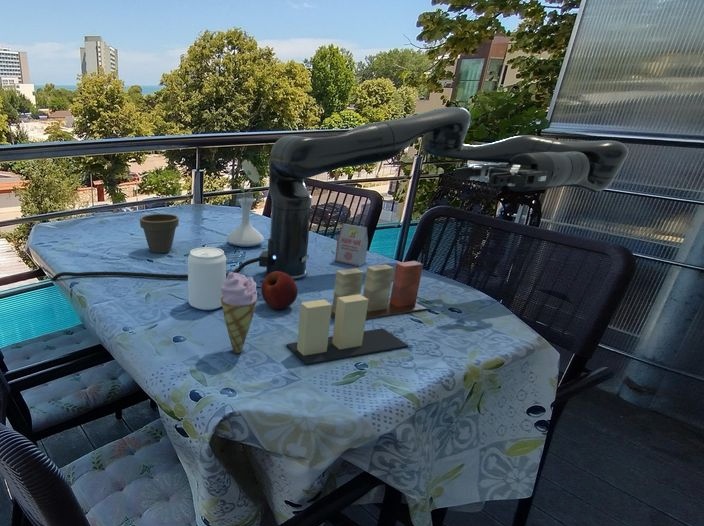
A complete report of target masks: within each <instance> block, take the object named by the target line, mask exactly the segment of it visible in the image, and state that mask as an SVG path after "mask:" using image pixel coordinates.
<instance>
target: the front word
mask: <svg viewBox="0 0 704 526" xmlns="http://www.w3.org/2000/svg"><path fill="white" fill-rule="evenodd" d="M368 300H369V299H367V298H366V297H364V296H363V294H361V293H360V294H358V295H351V296H344V297H337V305H336V314H335V318H334V324H333V331H332V336H329V333H330V328H331V327H330V326H331V325H330V324H331V318H332V316H331V309H332V306H333V303H332V304H331V303H330V301H327V300H326V299H324V298H323V299H317V300H310V301H302V302H300V306H299V307H300V308H299V319H298V331H297V342H291V343H286V347H287V348H288V349H289V350H290V351H291V352H292V353H293V354H294V355H295V356H296V357H297V358H298V359H299V360H300V361H302V363H303V364H304V365H306V366H310V365H314V364H315V365H316V364H320V363H325V362H331V361H337V360H342V359H349V358H354V357H361V356H365V355H371V354H376V353H382V352H389V351H395V350H398V349H399V350H400V349H407V348H409V344H407V343H406V342H404V341H402V340H401V339H400V338H398V337H396V336H395V335H393V334H392V333H390V332H389V331H387V330H386V329H384V328H376V329H369V330H365V327H366V321H367V319H366V314H367V307H368Z"/></svg>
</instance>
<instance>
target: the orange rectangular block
mask: <svg viewBox="0 0 704 526" xmlns="http://www.w3.org/2000/svg"><path fill="white" fill-rule="evenodd" d="M423 266H424V264H423V263H421V262H419V261H417V260H410V261H403V262H402V261H401V262H396V263H395V268H394V273H393V279H392V285H391V291H390V297H389V298H390V303H391V304H392V305H394V306H396V307H403V306H409V305H415V304H416V303H417V298H418V293H419V287H420V283H421V278H422V272H423Z"/></svg>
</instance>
